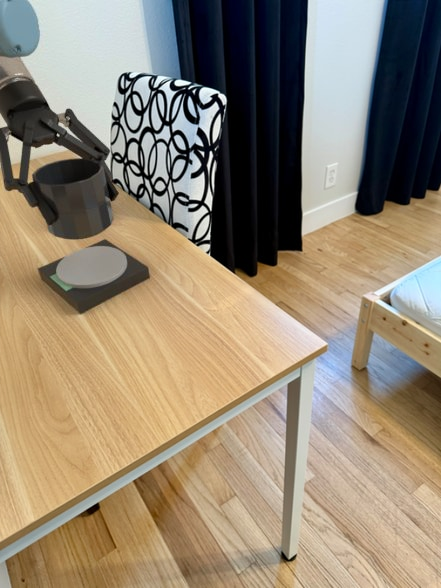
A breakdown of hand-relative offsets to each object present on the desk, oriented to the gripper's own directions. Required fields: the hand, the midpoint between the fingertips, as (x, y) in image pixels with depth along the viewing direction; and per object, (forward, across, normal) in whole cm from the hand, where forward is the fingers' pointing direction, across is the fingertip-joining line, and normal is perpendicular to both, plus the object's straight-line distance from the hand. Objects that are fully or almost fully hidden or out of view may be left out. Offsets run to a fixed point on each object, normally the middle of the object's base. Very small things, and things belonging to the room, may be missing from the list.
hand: (85, 209), depth 71 cm
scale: (+9, 0, -14) cm, 16 cm away
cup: (+1, 0, -5) cm, 5 cm away
